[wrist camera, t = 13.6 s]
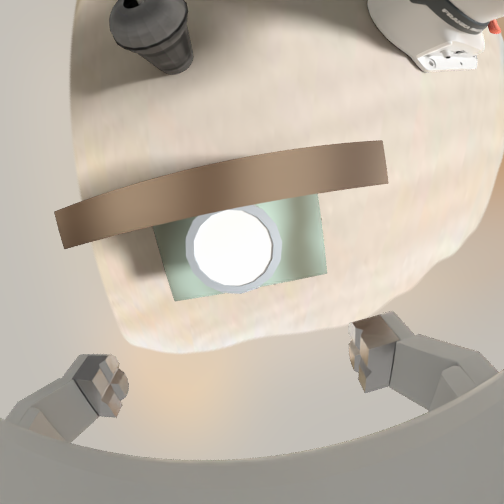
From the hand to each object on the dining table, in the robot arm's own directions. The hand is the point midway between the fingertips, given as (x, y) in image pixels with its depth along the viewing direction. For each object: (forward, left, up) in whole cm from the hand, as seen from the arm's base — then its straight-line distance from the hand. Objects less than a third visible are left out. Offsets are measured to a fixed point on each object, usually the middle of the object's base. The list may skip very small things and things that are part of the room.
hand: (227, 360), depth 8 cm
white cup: (0, 0, -19) cm, 19 cm away
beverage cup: (+4, -22, -27) cm, 35 cm away
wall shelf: (0, 0, -26) cm, 26 cm away
